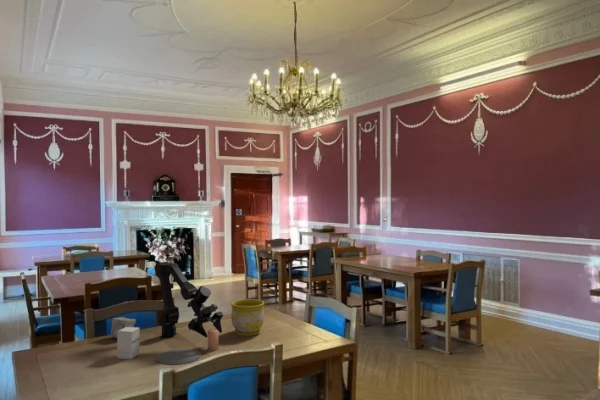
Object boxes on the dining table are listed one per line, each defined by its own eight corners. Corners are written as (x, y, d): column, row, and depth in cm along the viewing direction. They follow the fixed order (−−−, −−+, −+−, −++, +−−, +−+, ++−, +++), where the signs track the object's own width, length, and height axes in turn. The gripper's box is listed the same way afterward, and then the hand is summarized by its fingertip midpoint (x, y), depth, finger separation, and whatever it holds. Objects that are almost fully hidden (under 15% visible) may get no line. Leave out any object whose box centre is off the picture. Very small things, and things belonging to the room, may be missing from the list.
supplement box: (131, 359, 209) (131, 331, 209) (116, 358, 210) (116, 330, 210) (140, 354, 216) (140, 327, 216) (125, 352, 218) (125, 326, 218)
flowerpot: (271, 331, 252) (271, 301, 252) (250, 339, 237) (250, 308, 237) (245, 326, 262) (245, 297, 262) (224, 334, 247) (224, 303, 247)
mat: (148, 363, 204) (148, 362, 204) (168, 348, 224) (168, 347, 224) (190, 366, 200) (190, 365, 200) (207, 351, 220) (207, 350, 220)
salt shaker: (206, 350, 221) (206, 331, 221) (210, 347, 226) (210, 328, 226) (216, 351, 220) (216, 332, 220) (219, 347, 225) (219, 329, 225)
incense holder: (136, 336, 243) (136, 317, 243) (124, 341, 235) (123, 321, 235) (122, 334, 247) (122, 315, 247) (110, 338, 240) (110, 318, 240)
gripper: (191, 302, 218) (207, 329, 211) (220, 295, 233) (236, 320, 226) (181, 316, 223) (196, 343, 216) (210, 308, 238) (225, 333, 231)
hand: (214, 334), depth 222 cm, fingers open, 9 cm apart
